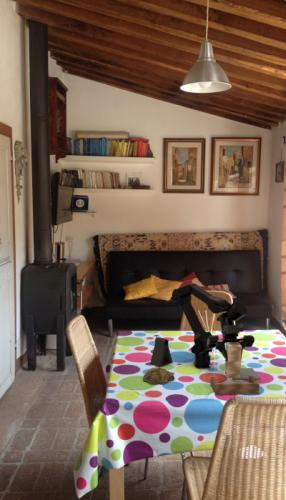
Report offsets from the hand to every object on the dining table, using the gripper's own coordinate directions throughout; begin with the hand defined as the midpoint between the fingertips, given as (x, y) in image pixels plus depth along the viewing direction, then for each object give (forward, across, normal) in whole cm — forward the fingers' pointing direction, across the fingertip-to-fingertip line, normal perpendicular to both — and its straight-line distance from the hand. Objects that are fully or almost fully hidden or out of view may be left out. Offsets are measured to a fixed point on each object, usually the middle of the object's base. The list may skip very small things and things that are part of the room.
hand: (234, 360), depth 176 cm
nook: (+9, 0, +7) cm, 11 cm away
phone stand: (-12, -26, +29) cm, 41 cm away
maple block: (+4, 0, +6) cm, 7 cm away
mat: (-2, +8, +18) cm, 20 cm away
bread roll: (+1, -30, +16) cm, 34 cm away
